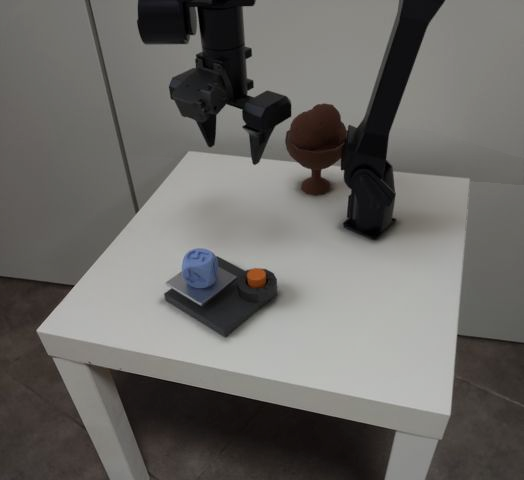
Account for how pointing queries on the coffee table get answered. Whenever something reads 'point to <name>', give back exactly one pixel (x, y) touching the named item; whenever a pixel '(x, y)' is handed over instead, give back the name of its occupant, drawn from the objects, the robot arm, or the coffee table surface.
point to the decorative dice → (200, 268)
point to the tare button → (256, 278)
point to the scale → (228, 301)
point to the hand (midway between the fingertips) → (233, 154)
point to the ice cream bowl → (316, 144)
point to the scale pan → (202, 294)
